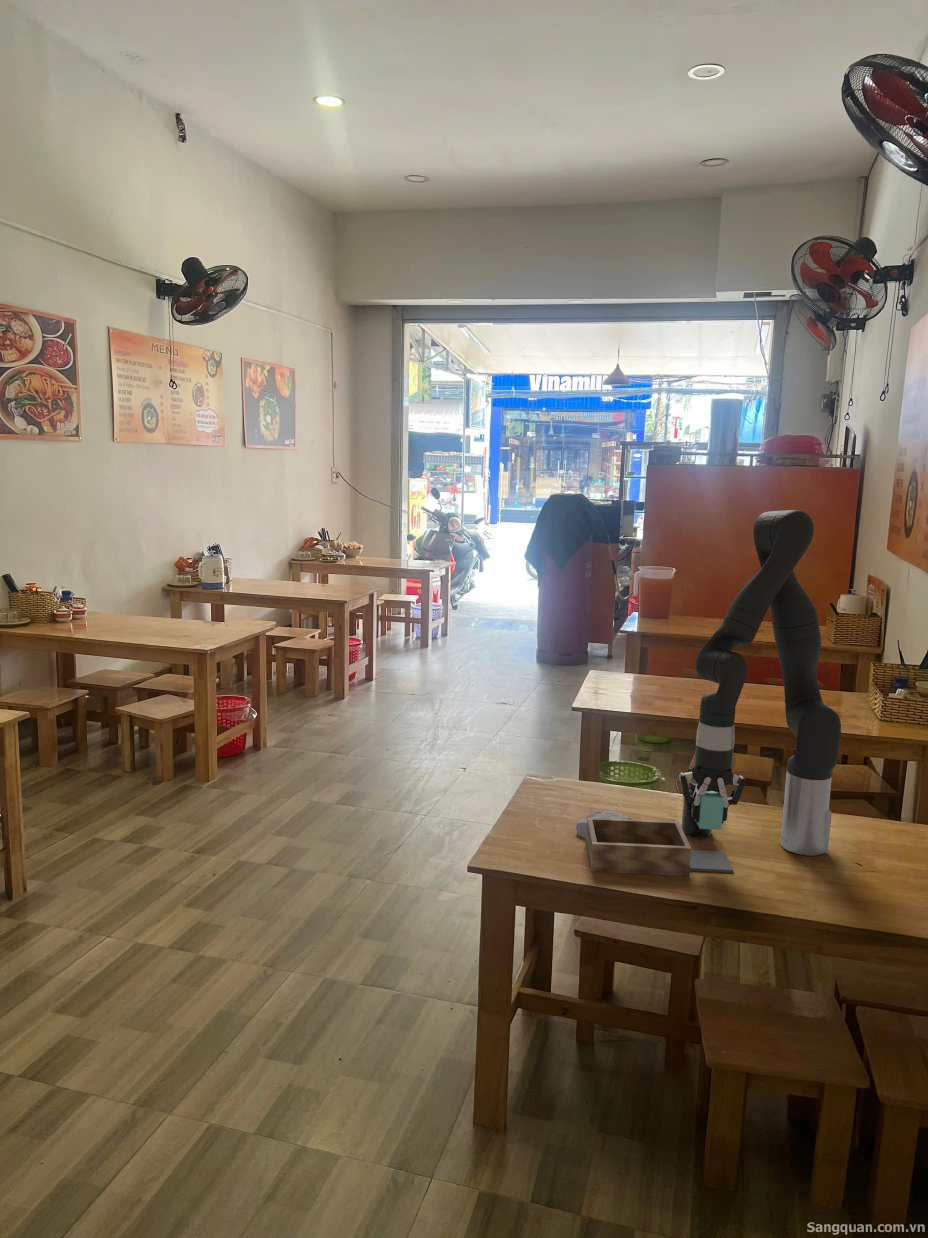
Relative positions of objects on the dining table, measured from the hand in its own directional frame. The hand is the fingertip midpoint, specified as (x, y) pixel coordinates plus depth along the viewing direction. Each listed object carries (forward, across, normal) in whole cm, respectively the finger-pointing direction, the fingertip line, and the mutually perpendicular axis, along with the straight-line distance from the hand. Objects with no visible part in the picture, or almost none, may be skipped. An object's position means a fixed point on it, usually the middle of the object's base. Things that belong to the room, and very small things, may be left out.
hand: (708, 821), depth 184 cm
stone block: (+10, +21, -14) cm, 27 cm away
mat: (+9, 0, 0) cm, 9 cm away
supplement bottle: (+9, -1, -16) cm, 18 cm away
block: (+1, 0, 0) cm, 1 cm away
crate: (+9, +15, 0) cm, 17 cm away
